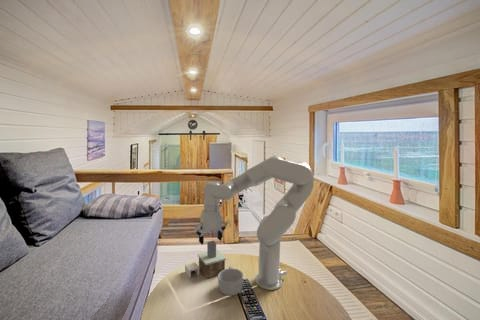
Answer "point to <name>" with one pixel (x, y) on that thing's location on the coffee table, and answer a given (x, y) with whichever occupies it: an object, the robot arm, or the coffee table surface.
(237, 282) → the teacup
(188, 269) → the matte white cube
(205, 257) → the lid
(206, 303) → the coffee table surface
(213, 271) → the brown wooden box
